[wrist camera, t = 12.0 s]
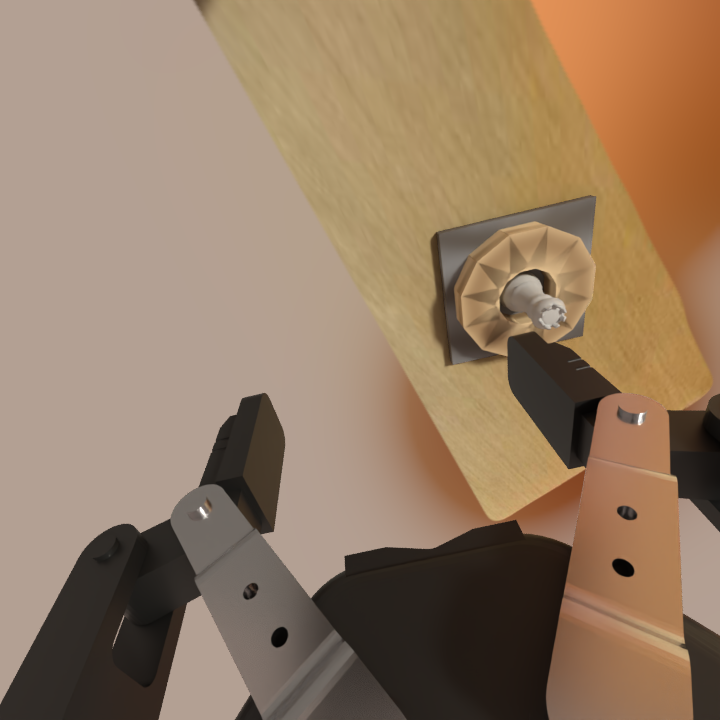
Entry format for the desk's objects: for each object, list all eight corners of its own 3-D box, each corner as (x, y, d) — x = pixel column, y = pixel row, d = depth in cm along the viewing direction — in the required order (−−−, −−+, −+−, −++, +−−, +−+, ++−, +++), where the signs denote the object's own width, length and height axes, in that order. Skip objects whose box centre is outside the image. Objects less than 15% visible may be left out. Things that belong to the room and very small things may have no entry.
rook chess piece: (521, 312, 43) (558, 344, 36) (489, 300, 42) (520, 330, 35) (544, 277, 41) (587, 304, 35) (510, 263, 40) (548, 288, 33)
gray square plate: (436, 232, 39) (445, 239, 36) (590, 195, 38) (613, 199, 35) (450, 360, 47) (459, 376, 44) (578, 332, 46) (595, 345, 43)
